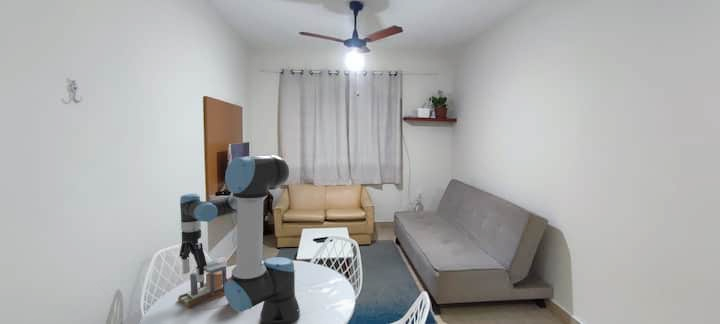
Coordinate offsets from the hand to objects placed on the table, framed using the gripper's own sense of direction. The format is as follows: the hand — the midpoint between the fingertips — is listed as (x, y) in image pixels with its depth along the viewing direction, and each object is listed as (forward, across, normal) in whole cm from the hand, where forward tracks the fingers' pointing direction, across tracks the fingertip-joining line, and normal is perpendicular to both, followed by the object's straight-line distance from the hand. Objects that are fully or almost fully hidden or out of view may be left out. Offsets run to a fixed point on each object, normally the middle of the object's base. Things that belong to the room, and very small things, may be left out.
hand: (193, 277), depth 139 cm
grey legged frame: (+10, 0, -6) cm, 12 cm away
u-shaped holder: (+9, 0, -6) cm, 10 cm away
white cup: (+11, +12, -18) cm, 24 cm away
